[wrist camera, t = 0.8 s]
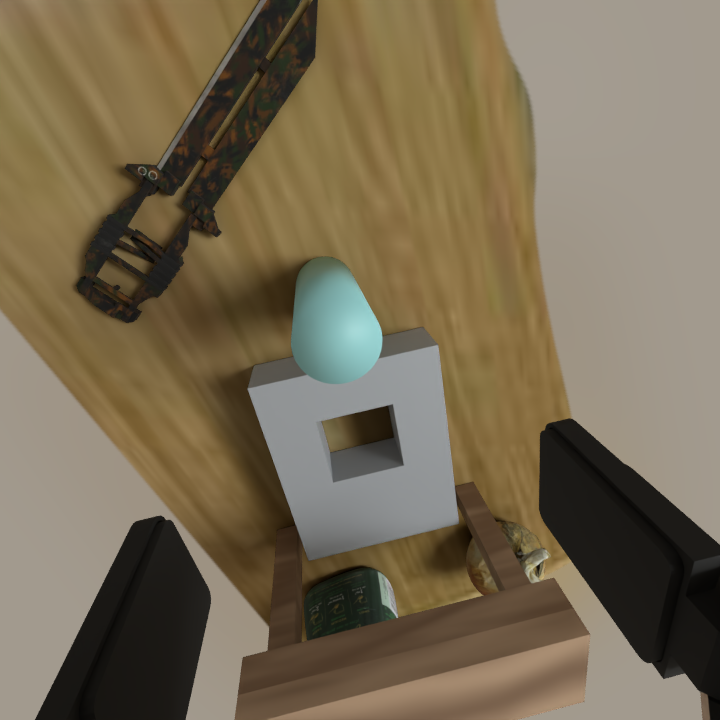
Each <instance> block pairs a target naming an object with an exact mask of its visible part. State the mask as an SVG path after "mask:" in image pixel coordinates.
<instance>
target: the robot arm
mask: <svg viewBox="0 0 720 720" xmlns="http://www.w3.org/2000/svg"><path fill="white" fill-rule="evenodd" d="M539 510H540V514H541V517H542V519H543V521H544V523H545V524H546V526H547V527H548V529H549V530H550V531H551V533H552V534H553V536H554V537H555V538H556V540H557V541H558V543H559V544H560V546H561V547H562V548H563V550H564V551H565V553H566V554H567V555H568V557H569V558H570V560H571V561H572V562H573V564H574V565H575V567H576V568H577V569H578V571H579V572H580V574H581V575H582V577H583V578H584V579H585V581H586V582H587V584H588V585H589V587H590V588H591V589H592V591H593V592H594V594H595V595H596V596H597V598H598V599H599V601H600V602H601V603H602V605H603V606H604V608H605V609H606V610H607V612H608V613H609V615H610V616H611V618H612V619H613V620H614V622H615V623H616V625H617V626H618V627H619V629H620V630H621V632H622V633H623V635H624V636H625V637H626V639H627V640H628V642H629V643H630V645H631V646H632V647H633V649H634V650H635V652H636V653H637V654H638V656H639V657H640V658H641V659H642V660H643V661H644V662H646V663H652V664H653V665H654V666H655V668H656V669H657V671H658V672H659V673H660V675H661V676H662V677H663V679H665V678H669V677H673V676H676V675H680V674H684V673H685V674H686V675H687V676H688V678H689V679H690V680H691V681H692V683H693V684H694V685H695V687H696V688H697V689H698V690H699V691H700V693H701V705H702V718H703V720H720V545H719V544H718V543H717V542H716V541H715V540H714V539H712V538H711V537H710V536H709V535H708V534H706V532H704V531H703V530H702V529H701V528H700V527H698V526H697V525H696V524H695V523H694V522H693V521H692V520H691V519H690V518H688V517H687V516H686V515H685V514H684V513H683V512H681V511H680V510H679V509H678V508H677V507H676V506H675V505H673V504H672V503H671V502H670V501H669V500H668V499H667V498H665V497H664V496H663V495H662V494H661V493H660V492H658V491H657V490H656V489H655V488H654V487H653V486H652V485H651V484H649V483H648V482H647V481H646V480H645V479H644V478H643V477H641V476H640V475H639V474H638V473H637V472H636V471H634V470H633V469H632V468H631V467H629V466H628V465H626V464H624V463H622V462H621V461H620V460H619V459H618V458H617V457H616V456H615V455H613V454H612V453H611V452H610V451H609V450H608V449H607V448H606V447H604V446H603V445H602V444H601V443H600V442H599V441H598V440H596V439H595V438H594V437H593V436H592V435H591V434H590V433H588V432H587V431H586V430H585V429H584V428H583V427H582V426H580V425H579V424H578V423H577V422H576V421H574V420H573V419H570V418H569V419H565V420H561V421H557V422H552V423H549V424H547V425H546V428H545V430H544V431H541V433H540V481H539ZM210 604H211V595H210V591H209V588H208V586H207V584H206V583H205V581H204V579H203V577H202V575H201V573H200V572H199V570H198V568H197V566H196V564H195V562H194V560H193V558H192V557H191V555H190V553H189V551H188V549H187V547H186V546H185V544H184V542H183V540H182V538H181V536H180V534H179V532H178V531H177V529H176V527H175V525H174V523H173V522H172V521H171V520H165V518H164V517H162V516H156V517H152V518H148V519H144V520H140V521H136V522H135V523H133V525H132V526H131V528H130V530H129V532H128V534H127V536H126V538H125V540H124V542H123V544H122V546H121V548H120V550H119V552H118V554H117V556H116V558H115V560H114V562H113V564H112V566H111V568H110V570H109V572H108V574H107V576H106V578H105V580H104V582H103V584H102V586H101V588H100V590H99V592H98V594H97V596H96V598H95V600H94V602H93V604H92V606H91V608H90V610H89V612H88V614H87V616H86V618H85V621H84V622H83V624H82V626H81V628H80V630H79V632H78V634H77V636H76V639H75V640H74V643H73V645H72V647H71V649H70V651H69V653H68V655H67V657H66V659H65V661H64V663H63V665H62V667H61V669H60V671H59V673H58V675H57V677H56V679H55V681H54V683H53V685H52V687H51V689H50V691H49V693H48V695H47V697H46V699H45V701H44V703H43V705H42V707H41V709H40V711H39V713H38V715H37V717H36V719H35V720H186V715H187V710H188V706H189V701H190V697H191V692H192V687H193V683H194V678H195V674H196V669H197V664H198V660H199V656H200V651H201V646H202V642H203V637H204V633H205V628H206V623H207V619H208V614H209V610H210Z"/></svg>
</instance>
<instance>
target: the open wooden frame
mask: <svg viewBox="0 0 720 720" xmlns="http://www.w3.org/2000/svg"><path fill="white" fill-rule="evenodd" d="M455 493H456V502H457V505H458V507H459V509H460V511H461V513H462V515H463V518H464V520H465V522H466V524H467V526H468V528H469V530H470V532H471V534H472V536H473V538H474V540H475V543H476V545H477V547H478V549H479V551H480V553H481V555H482V557H483V559H484V561H485V563H486V565H487V568H488V570H489V572H490V574H491V576H492V578H493V580H494V582H495V584H496V586H497V588H498V590H499V592H496V593H492V594H488V595H484V596H480V597H477V598H473V599H469V600H465V601H461V602H457V603H453V604H449V605H445V606H441V607H437V608H434V609H430V610H426V611H422V612H418V613H414V614H410V615H406V616H402V617H398V618H394V619H391V620H387V621H383V622H379V623H375V624H371V625H367V626H363V627H359V628H355V629H351V630H348V631H344V632H340V633H336V634H332V635H328V636H324V637H320V638H316V639H312V640H309V641H305V642H302V541H301V538H300V535H299V532H298V529H297V526H296V525H295V526H291V527H287V528H283V529H279V530H277V539H276V552H275V564H274V577H273V589H272V602H271V615H270V627H269V640H268V651H266V652H262V653H258V654H254V655H250V656H246V657H243V660H242V667H241V675H240V683H239V690H238V698H237V706H236V713H235V720H518V719H522V718H525V717H529V716H533V715H537V714H540V713H544V712H547V711H551V710H555V709H559V708H563V707H566V706H570V705H573V704H577V703H581V702H584V698H585V686H586V675H587V664H588V653H589V642H590V633H589V632H588V630H587V629H586V627H585V626H584V624H583V622H582V621H581V619H580V618H579V616H578V615H577V613H576V611H575V610H574V608H573V607H572V605H571V604H570V602H569V601H568V599H567V597H566V596H565V594H564V593H563V591H562V589H561V588H560V586H559V585H558V583H557V582H556V580H555V579H554V578H551V579H547V580H543V581H539V582H535V583H531V582H530V580H529V579H528V577H527V575H526V573H525V572H524V570H523V568H522V566H521V565H520V563H519V561H518V559H517V558H516V556H515V554H514V552H513V551H512V549H511V547H510V545H509V544H508V542H507V540H506V538H505V537H504V535H503V533H502V531H501V530H500V528H499V526H498V524H497V523H496V521H495V519H494V517H493V516H492V514H491V512H490V510H489V509H488V507H487V505H486V503H485V502H484V500H483V498H482V496H481V495H480V493H479V491H478V489H477V488H476V486H475V484H474V482H471V483H467V484H463V485H459V486H455Z"/></svg>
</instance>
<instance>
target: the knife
mask: <svg viewBox="0 0 720 720" xmlns="http://www.w3.org/2000/svg"><path fill="white" fill-rule="evenodd" d="M301 1H302V0H260V2H259V3H258V5H257V6H256V8H255V10H254V11H253V13H252V15H251V16H250V18H249V19H248V21H247V23H246V24H245V26H244V27H243V29H242V31H241V32H240V34H239V36H238V37H237V39H236V40H235V42H234V44H233V45H232V47H231V48H230V50H229V52H228V53H227V55H226V56H225V58H224V60H223V61H222V63H221V65H220V66H219V68H218V69H217V71H216V73H215V74H214V76H213V77H212V79H211V81H210V82H209V84H208V85H207V87H206V89H205V90H204V92H203V94H202V95H201V97H200V98H199V100H198V102H197V103H196V105H195V106H194V108H193V110H192V111H191V113H190V115H189V116H188V118H187V119H186V121H185V123H184V124H183V126H182V127H181V129H180V131H179V132H178V134H177V135H176V137H175V139H174V140H173V142H172V144H171V145H170V147H169V148H168V150H167V152H166V153H165V155H164V156H163V158H162V160H161V161H160V163H159V165H158V166H156V165H145V164H127V165H126V167H125V169H126V170H127V171H129V172H130V173H131V174H133V175H134V176H135V177H137V178H138V179H139V180H141V183H140V185H139V186H140V187H142V188H141V189H140V191H139V192H138V193H136V194H134V195H133V196H131V197H129V198H128V199H126V200H124V202H123V203H122V205H121V207H120V208H119V210H118V212H117V213H116V214H110V215H108V216H107V221H104V223H103V224H102V225H103V227H102V228H100V229H99V231H98V232H99V234H97V235H96V236H95V237H94V238H95V240H94V241H92V242H91V244H90V245H91V247H90V248H89V250H88V252H87V253H86V255H85V257H86V268H85V273H86V276H83V277H81V279H80V280H79V282H78V283H77V285H76V286H77V289H78V291H79V293H81V294H83V295H84V296H85V297H86V298H87V299H88V300H89V301H90V302H91V303H92V304H93V305H95V306H96V307H98V308H99V309H101V310H102V311H104V312H105V313H107V314H108V315H110V316H111V317H113V318H114V317H116V318H118V319H121V320H122V321H124V322H126V323H129V322H134V321H135V320H136V319H137V318H138V317H139V315H140V314H141V312H142V311H140V310H138V309H137V306H138V305H139V304H140V303H142V302H143V301H145V300H147V299H148V298H150V297H152V296H155V297H156V298H158V297H159V296H160V295H161V294H162V293H163V291H164V290H165V289H167V287H168V286H167V285H168V284H170V283H171V281H172V279H173V278H174V277H175V275H176V273H177V272H178V271H179V270H180V267H181V266H182V265H183V264H184V262H183V258H182V257H180V256H181V255H182V253H183V252H184V250H185V249H186V247H187V246H188V239H189V231H190V228H192V227H193V226H194V227H195V228H197V229H198V230H199V231H201V230H203V229H204V228H205V229H206V230H207V231H209V232H210V233H211V234H213V235H214V236H215V237H218V236H219V235H220V234H221V231H220V230H219V229H218V226H217V223H216V220H215V217H214V213H215V211H214V210H212V209H213V207H214V206H215V204H216V203H217V201H218V200H219V198H220V197H221V195H222V194H223V192H224V191H225V189H226V188H227V186H228V185H229V183H230V182H231V181H232V179H233V178H234V176H235V175H236V173H237V172H238V170H239V169H240V167H241V166H242V164H243V163H244V161H245V160H246V158H247V157H248V155H249V154H250V153H251V151H252V150H253V148H254V147H255V145H256V144H257V142H258V141H259V139H260V138H261V136H262V135H263V133H264V132H265V130H266V129H267V127H268V126H269V125H270V123H271V122H272V120H273V119H274V117H275V116H276V114H277V113H278V111H279V110H280V108H281V107H282V105H283V104H284V102H285V101H286V99H287V98H288V97H289V95H290V94H291V92H292V91H293V89H294V88H295V86H296V85H297V83H298V82H299V80H300V79H301V77H302V76H303V74H304V73H305V72H306V70H307V69H308V67H309V66H310V64H311V63H312V61H313V60H314V58H315V48H316V26H317V4H318V0H313V1H312V2H311V4H310V5H309V7H308V8H307V10H306V11H305V13H304V14H303V16H302V17H301V19H300V21H299V22H298V24H297V25H296V27H295V28H294V30H293V31H292V33H291V34H290V36H289V37H288V39H287V40H286V42H285V44H284V45H283V47H282V48H281V50H280V51H279V53H278V54H277V56H276V57H275V59H274V60H273V62H272V63H270V62H269V61H268V60H267V59H266V58H265V57H266V55H267V54H268V52H269V51H270V49H271V48H272V46H273V45H274V43H275V41H276V40H277V38H278V37H279V35H280V34H281V32H282V31H283V29H284V28H285V26H286V24H287V23H288V21H289V20H290V18H291V17H292V15H293V14H294V12H295V11H296V9H297V7H298V6H299V4H300V3H301ZM259 67H260V68H261V69H262V70H263V71H264V72H265V74H264V76H263V77H262V79H261V80H260V82H259V83H258V85H257V86H256V88H255V89H254V91H253V93H252V94H251V96H250V97H249V99H248V100H247V102H246V103H245V105H244V106H243V108H242V109H241V111H240V112H239V114H238V115H237V117H236V119H235V120H234V122H233V123H232V125H231V126H230V128H229V129H228V131H227V132H226V134H225V135H224V137H223V138H222V140H221V142H220V143H219V145H218V146H217V148H216V149H215V150H214V149H213V148H212V147H210V146H209V144H210V142H211V140H212V139H213V137H214V136H215V134H216V133H217V131H218V130H219V128H220V127H221V125H222V123H223V122H224V120H225V119H226V117H227V116H228V114H229V113H230V111H231V110H232V108H233V106H234V105H235V103H236V102H237V100H238V99H239V97H240V96H241V94H242V93H243V91H244V89H245V88H246V86H247V85H248V83H249V82H250V80H251V79H252V77H253V76H254V74H255V72H256V71H257V69H258V68H259ZM201 156H203V157H204V158H205V159H206V160H207V163H206V164H205V166H204V168H203V169H202V171H201V172H200V174H199V175H198V177H197V178H196V180H195V181H194V183H193V184H192V186H191V187H190V189H189V191H188V193H189V195H188V196H187V198H186V200H185V201H184V203H183V204H182V205H183V206H185V207H186V208H187V209H189V210H190V211H191V212H193V213H194V215H193V214H192V213H191V214H190V216H189V217H188V219H187V220H186V222H185V223H184V225H183V226H182V228H181V229H180V231H179V232H178V234H177V235H176V237H175V238H174V240H173V241H172V243H171V244H170V246H169V247H168V249H167V250H166V252H165V253H164V252H163V251H162V250H161V249H162V247H161V246H159V245H158V244H157V243H155V242H154V241H152V240H151V239H149V238H148V237H147V236H145V235H144V234H143V233H141V232H140V231H138V230H137V229H136V230H135V231H134V230H132V229H131V228H129V227H128V224H129V223H130V221H131V220H132V218H133V216H134V215H135V213H136V212H137V210H138V208H139V207H140V205H141V204H142V202H143V200H144V199H145V197H146V196H150V195H151V194H155V193H156V192H157V190H158V188H159V187H160V188H161V189H162V190H164V191H165V192H166V193H168V194H169V195H174V194H175V192H176V191H177V189H178V188H179V186H180V187H182V185H183V184H184V182H185V181H186V179H187V178H188V176H189V175H190V173H191V171H192V170H193V168H194V167H195V165H196V164H197V162H198V161H199V159H200V157H201ZM124 231H126V232H127V233H129V234H131V235H132V236H131V238H130V239H131V240H132V241H134V242H135V243H136V244H137V245H138V246H139V247H140V248H141V249H142V250H144V251H145V252H146V253H147V254H148V255H149V256H148V255H147V254H145V253H143V252H142V251H140V250H138V249H136V248H134V247H132V246H130V245H129V244H127V243H125V242H123V241H121V240H119V239H120V237H122V236H123V235H124V233H123V232H124ZM135 237H136V238H135ZM138 239H139V240H138ZM140 240H141V241H142V242H144V243H146V244H147V245H149V246H150V247H151V248H152V249H153V250H155V251H156V252H157V253H158V254H159V255H160V256H161V257H162V258H161V259H160V258H159V257H158V256H157V255H156V254H155V253H153V252H152V251H151V250H150V249H149V248H148V247H147V246H146V245H145V244H143V243H142V242H141V241H140ZM116 244H118V245H120V246H121V247H123V248H125V249H127V250H129V251H131V252H133V253H135V254H137V255H138V256H140V257H142V258H144V259H146V260H148V261H150V262H152V263H154V262H155V261H156V262H157V263H158V264H157V265H155V266H154V268H153V269H154V270H153V271H151V272H150V274H149V275H150V276H149V277H148V276H146V275H145V274H143V273H142V272H140V271H139V270H137V269H136V268H134V267H133V266H131V265H130V264H128V263H127V262H125V261H124V260H122V259H121V258H119V257H118V256H116V255H115V254H113V253H112V252H111V251H112V250H114V249H115V248H116V246H115V245H116ZM108 257H110V258H111V259H113V260H114V261H116V262H117V263H119V264H120V265H122V266H123V267H125V268H126V269H128V270H129V271H131V272H132V273H134V274H135V275H137V276H138V277H140V278H141V279H143V280H144V281H146V282H145V283H144V285H143V286H142V288H141V289H140V291H139V292H138V294H137V295H136V297H135V298H134V300H132V299H131V298H129V297H128V296H126V295H124V294H123V293H121V292H120V291H118V290H119V288H120V286H118V285H116V286H114V287H112V286H110V285H109V284H107V283H106V282H104V281H103V280H101V279H100V278H98V277H96V275H97V274H98V272H99V271H100V269H101V267H102V266H103V264H104V263H105V261H106V259H107V258H108ZM95 283H97V284H98V285H100V286H101V287H103V288H105V289H106V290H108V291H109V292H111V293H113V294H114V295H116V296H117V297H119V298H121V299H122V300H124V301H125V302H127V303H129V304H130V306H129V307H128V308H127V307H125V306H124V305H122V304H121V303H119V302H117V301H115V300H114V299H112V298H110V297H109V296H107V295H106V294H104V293H102V292H101V291H99V290H98V289H96V288H94V287H93V286H94V284H95Z"/></svg>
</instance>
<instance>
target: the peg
mask: <svg viewBox="0 0 720 720" xmlns="http://www.w3.org/2000/svg"><path fill="white" fill-rule="evenodd" d="M291 348H292V353H293V356H294V359H295V361H296V362H297V364H298V366H299V367H300V368H301V369H302V370H303V371H304V372H305V373H306V374H307V375H308V376H310V377H311V378H313V379H315V380H317V381H320V382H323V383H328V384H343V383H348V382H352V381H354V380H356V379H358V378H360V377H362V376H363V375H365V374H366V373H367V372H368V371H369V370H370V369H371V368H372V367H373V366H374V365H375V363H376V361H377V360H378V358H379V356H380V353H381V349H382V332H381V328H380V325H379V323H378V321H377V319H376V317H375V315H374V314H373V312H372V310H371V308H370V306H369V304H368V303H367V301H366V299H365V297H364V295H363V293H362V292H361V290H360V288H359V286H358V284H357V282H356V280H355V279H354V277H353V275H352V273H351V271H350V270H349V268H348V267H347V266H346V265H345V264H344V263H343V262H341V261H340V260H338V259H335V258H332V257H318V258H315V259H312V260H310V261H309V262H307V263H306V264H305V265H304V266H303V267H302V268H301V270H300V272H299V274H298V276H297V280H296V290H295V301H294V313H293V325H292V336H291Z"/></svg>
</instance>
